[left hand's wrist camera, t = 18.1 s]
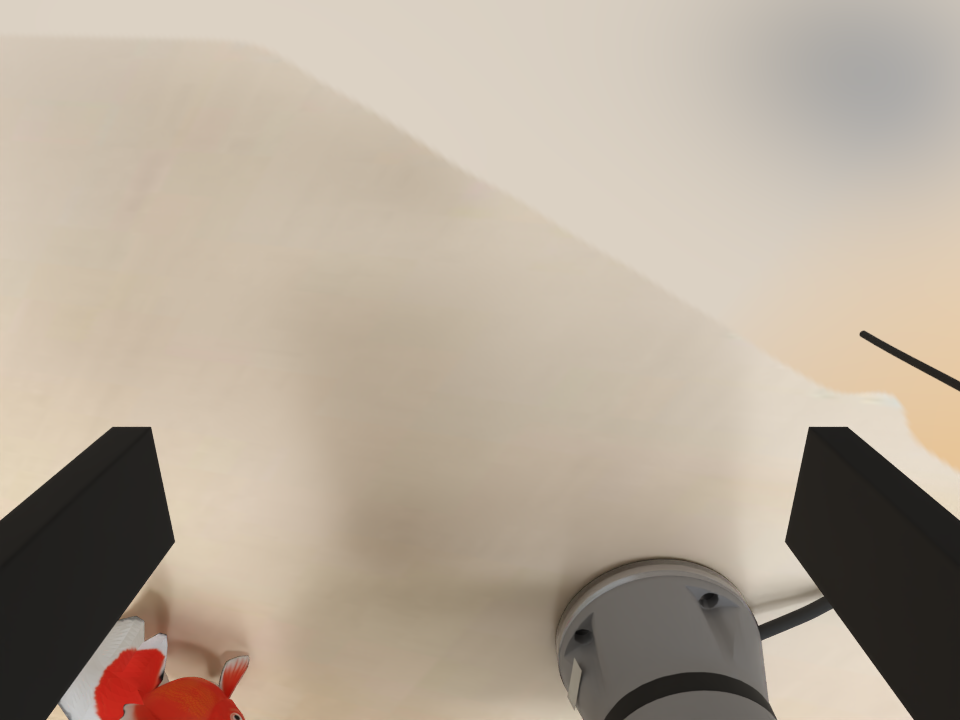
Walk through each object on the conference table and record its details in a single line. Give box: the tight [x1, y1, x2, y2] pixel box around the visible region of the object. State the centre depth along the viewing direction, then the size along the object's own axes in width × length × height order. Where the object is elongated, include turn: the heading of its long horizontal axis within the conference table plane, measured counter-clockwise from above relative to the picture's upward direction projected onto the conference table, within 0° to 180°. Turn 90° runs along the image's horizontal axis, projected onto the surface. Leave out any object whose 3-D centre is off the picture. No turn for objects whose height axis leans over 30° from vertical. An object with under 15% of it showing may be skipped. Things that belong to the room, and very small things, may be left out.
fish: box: [58, 616, 249, 720], centre depth 46 cm, size 11×16×10 cm
